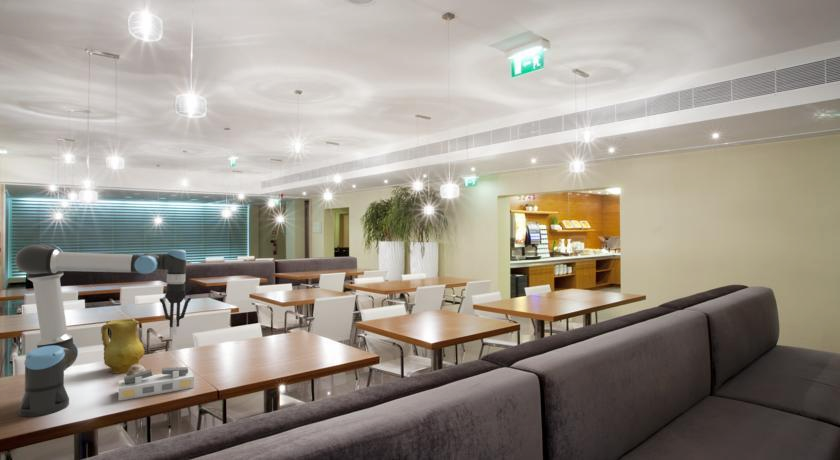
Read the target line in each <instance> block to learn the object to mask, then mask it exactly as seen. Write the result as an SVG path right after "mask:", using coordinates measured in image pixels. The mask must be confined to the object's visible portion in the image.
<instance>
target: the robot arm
mask: <svg viewBox="0 0 840 460" xmlns="http://www.w3.org/2000/svg"><path fill="white" fill-rule="evenodd" d="M14 261H15V265H16V267H17V268H18V270H20V271H21V272H24V273H26V278H27V280H29V281H31V282H32V285H33V293H34V299H35V307H36V313H37V321H38V326H39V327H38V328H39V334H40V340H39V341H38V342H37V343H36V348H33V349H32V350H30V351H29V352H27V354H25V359H24V395H23V396H22V398H21V401H20V403H19V406H18V416H21V417H26V418H27V417H39V416H44V415H49V414H52V413H53V414H54V413H56V412H60V411H62V410H63V409H65V408H67V407H68V406H69V405H70V397H69V396H68V393H67V390H66V388H65V386H64V385H65V384H64V383H65V377H64V376H65V370H67V369H68V368H70V367H71V366H72V365H73V364H74V363H75V362H76V360H77V358H78V356H79V349H78V346H77V345H76V343H74V339H73V335H71V334H69V333H68V328H67V321H66V315H65V307H64V300H63V298H64V297H63V294H62V293H63V291H62V286H61V278H62V276H64V272H95V273H96V272H98V273H99V272H104V273H134V274H135V273H137V274H141V275H142V274H146V275H147V274H151V273H153V272H154V271H166V291H165V292H166V293H165V294H164V296H163V297H160V298H159V302H160V303H161V305H162V309H163V313H164V314H163V315H164V318H165V320H168V321H169V327H170V328H171V329H172V330H171V331H172V332H171V335H172V336H174V335H177V328H179V327H180V320H182V319H184V318H185V315H186V312H187V309H188V306H189V303H190V302H191V299H192V298H191V297H190V296H188V295H187V294H186V273H187V271H186V270H187V251H186V250H184V249H168V250H167V253H138V254H125V253H122V254H120V253H98V252H97V253H96V252H72V251H71V252H70V251H63V249H61V248H60V247H59V246H57V245H54V244H50V243H41V244H40V243H39V244H32V245H28V246H25V247H23V248H21V249H20V250H19V251H18V252H17V253H16V255H15V259H14ZM183 300H184V305H183V307H182V310H180V309H181V303H182V301H183ZM167 301H168V302H169V303H170V304H169V305H170V309H169V313H168V309H167V305H166V302H167ZM174 304H176V312H175V319H174V310H175V308H174V306H175V305H174ZM180 312H181V313H180Z"/></svg>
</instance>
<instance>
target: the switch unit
mask: <svg viewBox="0 0 840 460" xmlns="http://www.w3.org/2000/svg"><path fill="white" fill-rule="evenodd" d="M192 371H193V370H191V369H189V368H188V374H179V371H173V374H162V373H158V374H152V376H150V377H146V378H143V379H142V376H141V377H135V381H133V382H130V383H126V384H125V381H124V379H119V380H118V401H125V400H132V399H137V398H142V397H149V396H155V395H160V394H164V393H172V392H176V391H183V390H187V389H189V390H190V389H194V388H195V375H194V373H193V372H192ZM138 373H139V372H138ZM135 374H136V373H135Z"/></svg>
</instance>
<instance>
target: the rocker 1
mask: <svg viewBox="0 0 840 460" xmlns="http://www.w3.org/2000/svg"><path fill="white" fill-rule="evenodd" d="M145 370H146V371H143V372H139V373H136V374H132V375H129V376H127V375H125V376H123V380H124V381H125V384H126V383H130V382H133V381H135V377H141V376H142V379H143V378H146V377H150V376H152V375H153V374H152V373H153V372H152V369H145Z"/></svg>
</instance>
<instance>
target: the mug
mask: <svg viewBox="0 0 840 460" xmlns="http://www.w3.org/2000/svg"><path fill="white" fill-rule="evenodd" d="M146 370H147V369H146V368H145V367H144V366H143V365H142V364H140V363H138V364H134V365H132V366H131V367H130V368H129V370H128V372H126V376H129V375H132V374H135V373H138V372H143V371H146Z"/></svg>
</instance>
